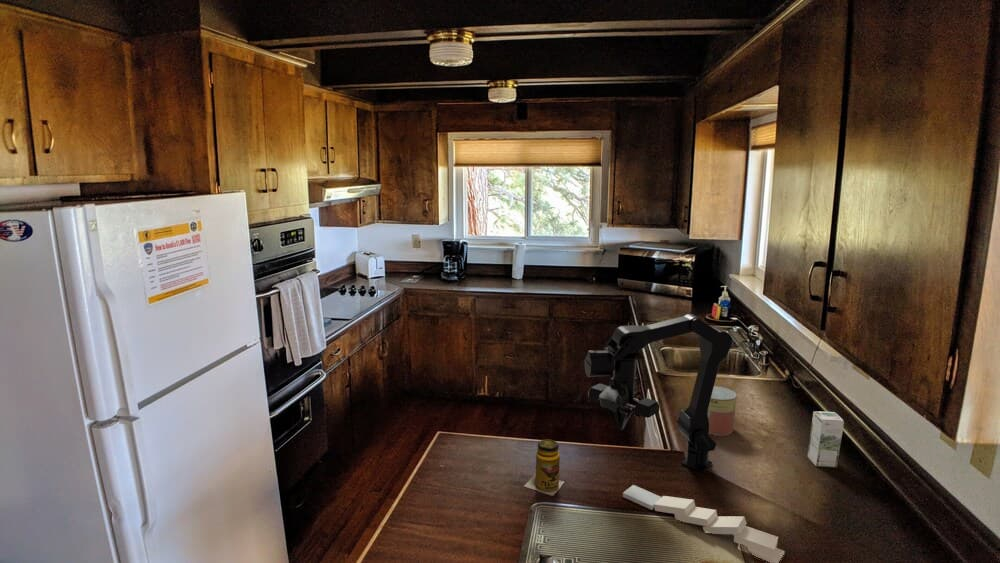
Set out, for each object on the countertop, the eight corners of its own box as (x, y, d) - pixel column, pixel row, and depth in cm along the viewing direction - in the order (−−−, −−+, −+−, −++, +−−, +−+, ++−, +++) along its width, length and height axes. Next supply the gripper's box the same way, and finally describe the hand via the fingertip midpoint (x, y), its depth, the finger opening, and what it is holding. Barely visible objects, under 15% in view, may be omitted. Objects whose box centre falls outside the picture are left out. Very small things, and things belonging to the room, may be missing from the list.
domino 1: (633, 484, 144) (661, 497, 139) (632, 490, 144) (661, 502, 139) (623, 492, 140) (652, 505, 135) (622, 498, 141) (651, 511, 135)
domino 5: (739, 523, 126) (778, 536, 122) (738, 530, 126) (777, 543, 122) (734, 535, 122) (774, 549, 118) (733, 541, 122) (773, 556, 118)
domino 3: (684, 504, 135) (716, 509, 129) (685, 511, 135) (717, 516, 129) (674, 513, 131) (706, 519, 126) (675, 520, 131) (708, 526, 126)
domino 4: (710, 516, 130) (744, 516, 125) (712, 523, 130) (746, 523, 125) (702, 526, 127) (737, 527, 122) (704, 533, 127) (740, 534, 121)
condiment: (553, 496, 140) (554, 452, 138) (523, 486, 145) (524, 444, 142) (564, 482, 147) (566, 440, 144) (535, 473, 151) (536, 432, 148)
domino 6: (746, 534, 125) (784, 551, 120) (745, 540, 125) (783, 557, 120) (738, 545, 121) (777, 562, 116) (737, 551, 122) (776, 569, 116)
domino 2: (663, 495, 138) (694, 499, 133) (664, 502, 138) (695, 506, 133) (653, 504, 135) (684, 508, 129) (655, 510, 135) (686, 515, 129)
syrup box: (827, 457, 161) (834, 410, 158) (837, 468, 155) (844, 420, 152) (806, 456, 161) (812, 409, 158) (816, 467, 155) (822, 418, 153)
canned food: (688, 422, 183) (691, 387, 180) (717, 418, 186) (720, 384, 183) (710, 437, 172) (714, 401, 170) (741, 433, 175) (744, 397, 173)
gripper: (577, 373, 148) (575, 427, 151) (640, 392, 136) (636, 452, 139) (600, 363, 156) (598, 415, 159) (662, 380, 143) (658, 437, 147)
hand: (621, 429), depth 151 cm, fingers closed
